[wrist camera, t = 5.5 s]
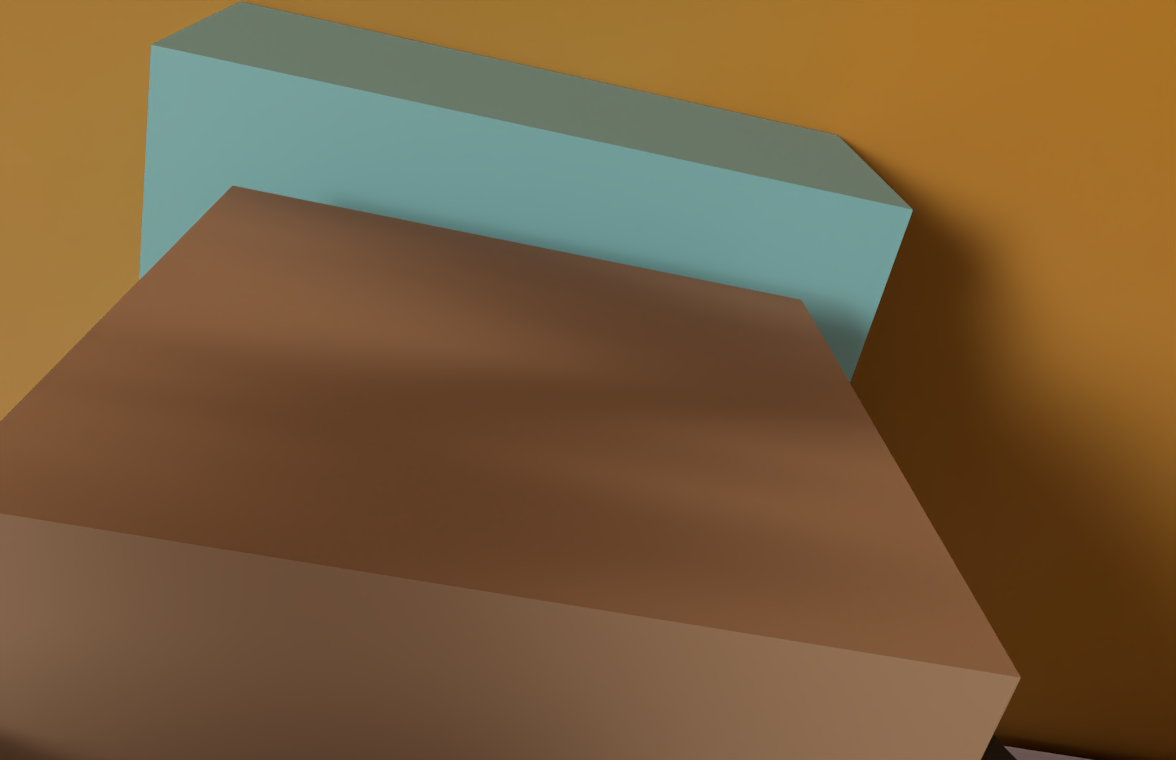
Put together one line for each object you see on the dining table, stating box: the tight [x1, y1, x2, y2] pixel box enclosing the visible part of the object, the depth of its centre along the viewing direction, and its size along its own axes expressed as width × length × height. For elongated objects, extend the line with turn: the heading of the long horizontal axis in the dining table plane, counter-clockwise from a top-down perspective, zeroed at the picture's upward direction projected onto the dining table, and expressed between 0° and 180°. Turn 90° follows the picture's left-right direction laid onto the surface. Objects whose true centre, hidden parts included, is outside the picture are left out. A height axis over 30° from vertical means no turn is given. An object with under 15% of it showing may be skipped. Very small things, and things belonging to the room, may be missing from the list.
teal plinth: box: [139, 2, 913, 382], centre depth 13 cm, size 7×7×3 cm
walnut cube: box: [0, 185, 1021, 760], centre depth 8 cm, size 5×5×5 cm
